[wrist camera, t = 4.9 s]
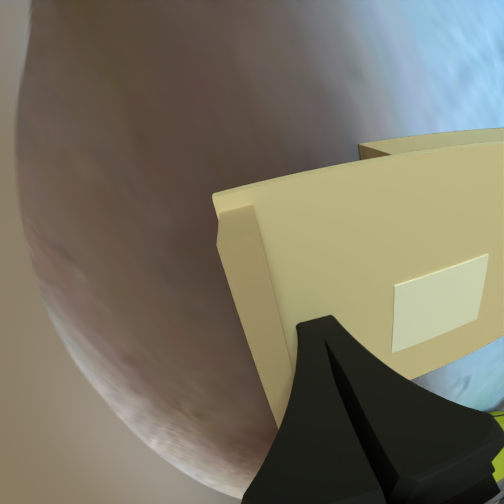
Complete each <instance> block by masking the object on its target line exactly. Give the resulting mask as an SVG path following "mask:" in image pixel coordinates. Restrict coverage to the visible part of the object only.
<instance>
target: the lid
mask: <svg viewBox="0 0 504 504" xmlns="http://www.w3.org/2000/svg"><path fill="white" fill-rule="evenodd" d="M212 199H213V203H214V206H215V209H216V213H217V216H218V220H219V226H218V236H217V248H218V251H219V255H220V258H221V261H222V264H223V267H224V270H225V274H226V277H227V280H228V283H229V286H230V289H231V292H232V295H233V298H234V302H235V305H236V308H237V311H238V314H239V317H240V320H241V323H242V326H243V329H244V332H245V335H246V338H247V341H248V344H249V347H250V350H251V353H252V356H253V359H254V361H255V364H256V367H257V370H258V373H259V376H260V379H261V382H262V385H263V387H264V390H265V393H266V396H267V399H268V402H269V404H270V407H271V410H272V413H273V416H274V418H275V421H276V424H277V427H278V429H279V428H280V425H281V423H282V420H283V417H284V414H285V411H286V408H287V405H288V401H289V398H290V394H291V390H292V385H293V380H294V375H295V369H296V360H297V346H298V339H297V331H296V325H297V324H298V323H300V322H304V321H308V320H312V319H316V318H320V317H323V316H327V315H333V316H334V317H335V318H336V319H337V320H338V322H339V323H340V324H341V325H342V326H343V327H344V328H345V329H346V330H347V331H348V332H349V333H350V334H351V335H352V336H353V337H354V338H355V339H356V340H357V341H358V342H359V343H361V344H362V345H363V346H364V347H365V348H366V349H367V350H369V351H370V352H371V353H372V354H373V355H374V356H376V357H377V358H378V359H380V360H381V361H382V362H383V363H385V364H386V365H387V366H389V367H390V368H392V369H393V370H394V371H396V372H397V373H399V374H400V375H402V376H403V377H405V378H407V379H408V380H411V379H413V378H416V377H418V376H421V375H423V374H426V373H428V372H431V371H433V370H435V369H438V368H440V367H442V366H444V365H447V364H449V363H451V362H453V361H455V360H458V359H460V358H462V357H464V356H466V355H468V354H470V353H472V352H474V351H476V350H478V349H480V348H482V347H484V346H486V345H488V344H490V343H491V342H493V341H495V340H497V339H499V338H501V337H502V336H504V141H493V142H483V143H474V144H465V145H457V146H449V147H442V148H434V149H427V150H420V151H414V152H407V153H401V154H395V155H389V156H383V157H377V158H371V159H366V160H360V161H355V162H350V163H344V164H339V165H334V166H329V167H324V168H319V169H315V170H310V171H305V172H301V173H296V174H292V175H287V176H283V177H278V178H274V179H270V180H265V181H261V182H257V183H253V184H249V185H245V186H241V187H237V188H233V189H229V190H225V191H221V192H217V193H213V196H212Z"/></svg>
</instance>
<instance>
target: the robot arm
mask: <svg viewBox="0 0 504 504" xmlns="http://www.w3.org/2000/svg"><path fill="white" fill-rule="evenodd" d="M296 331H297V339H298V346H297V360H296V369H295V375H294V380H293V385H292V390H291V394H290V398H289V401H288V405H287V408H286V411H285V414H284V417H283V420H282V423H281V425H280V428H279V431H278V433H277V435H276V438H275V440H274V442H273V444H272V447H271V449H270V451H269V453H268V455H267V457H266V458H265V460H264V462H263V464H262V466H261V468H260V470H259V471H258V473H257V475H256V476H255V478H254V479H253V481H252V482H251V484H250V486H249V487H248V489H247V490H246V492H245V493H244V495H243V498H242V502H241V504H495V503H496V502H498V501H499V500H500V501H499V502H498V504H504V478H502V479H501V480H499V481H498V482H496V481H495V479H494V476H493V473H494V472H495V468H494V466H493V464H492V461H493V460H494V459H495V457H496V456H497V455H498V454H499V453H500V451H501V450H502V449H503V447H504V431H503V429H502V427H501V426H500V424H499V423H498V422H497V420H496V419H495V418H494V417H493V416H492V414H489V413H486V412H482V411H479V410H475V409H472V408H468V407H465V406H462V405H460V404H457V403H454V402H452V401H449V400H447V399H445V398H443V397H441V396H438V395H436V394H434V393H432V392H430V391H428V390H426V389H424V388H422V387H420V386H418V385H417V384H415V383H413V382H412V381H410V380H408V379H407V378H405V377H403V376H402V375H400V374H399V373H397V372H396V371H394V370H393V369H392V368H390V367H389V366H387V365H386V364H385V363H383V362H382V361H381V360H380V359H378V358H377V357H376V356H374V355H373V354H372V353H371V352H370V351H369V350H367V349H366V348H365V347H364V346H363V345H362V344H361V343H359V342H358V341H357V340H356V339H355V338H354V337H353V336H352V335H351V334H350V333H349V332H348V331H347V330H346V329H345V328H344V327H343V326H342V325H341V324H340V323H339V322H338V320H337V319H336V318H335V317H334V316H333V315H327V316H323V317H320V318H316V319H312V320H308V321H304V322H300V323H298V324H297V325H296Z"/></svg>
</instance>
